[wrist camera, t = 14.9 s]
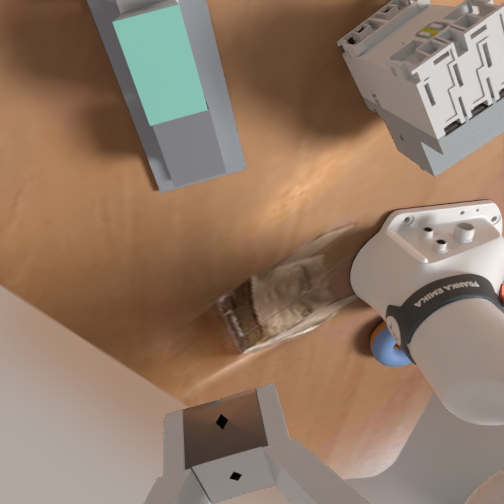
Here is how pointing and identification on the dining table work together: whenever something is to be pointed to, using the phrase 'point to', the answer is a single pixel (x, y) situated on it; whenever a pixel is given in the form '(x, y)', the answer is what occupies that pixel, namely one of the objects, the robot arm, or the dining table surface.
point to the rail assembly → (185, 128)
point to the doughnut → (387, 347)
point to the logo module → (161, 61)
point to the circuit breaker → (432, 76)
